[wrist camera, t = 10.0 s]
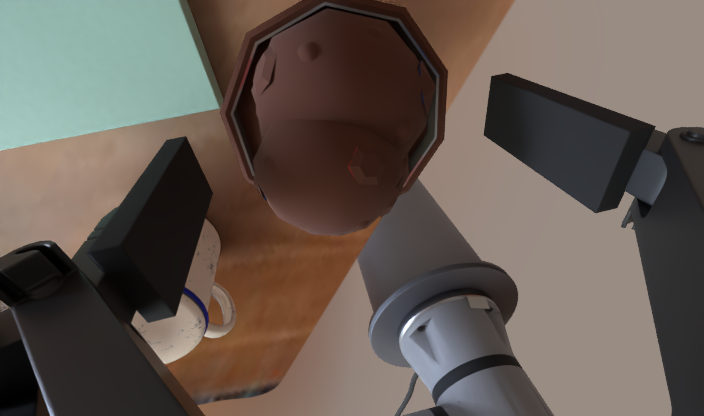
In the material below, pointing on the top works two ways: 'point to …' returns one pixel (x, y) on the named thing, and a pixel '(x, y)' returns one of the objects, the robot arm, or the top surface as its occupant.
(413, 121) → the ice cream bowl
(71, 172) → the top surface
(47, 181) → the top surface
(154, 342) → the teacup with lid
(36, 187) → the top surface
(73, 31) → the scale
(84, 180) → the top surface
